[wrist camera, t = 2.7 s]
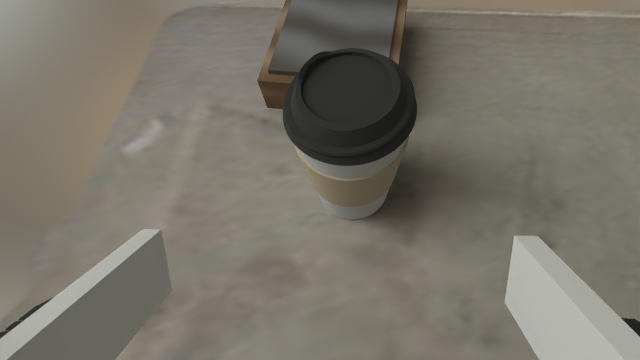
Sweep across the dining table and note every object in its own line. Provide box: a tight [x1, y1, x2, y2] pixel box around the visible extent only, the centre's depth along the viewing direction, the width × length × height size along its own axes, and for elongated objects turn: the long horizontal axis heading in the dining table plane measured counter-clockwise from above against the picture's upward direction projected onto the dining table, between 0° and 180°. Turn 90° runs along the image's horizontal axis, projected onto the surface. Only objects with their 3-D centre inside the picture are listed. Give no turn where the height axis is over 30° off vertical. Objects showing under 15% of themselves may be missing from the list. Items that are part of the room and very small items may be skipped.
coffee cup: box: [283, 48, 417, 220], centre depth 29 cm, size 9×9×15 cm
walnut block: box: [257, 0, 407, 109], centre depth 41 cm, size 14×14×5 cm
